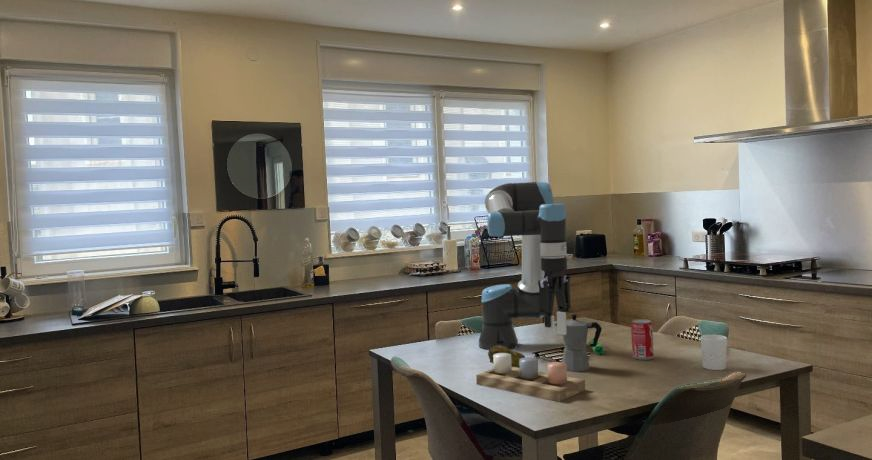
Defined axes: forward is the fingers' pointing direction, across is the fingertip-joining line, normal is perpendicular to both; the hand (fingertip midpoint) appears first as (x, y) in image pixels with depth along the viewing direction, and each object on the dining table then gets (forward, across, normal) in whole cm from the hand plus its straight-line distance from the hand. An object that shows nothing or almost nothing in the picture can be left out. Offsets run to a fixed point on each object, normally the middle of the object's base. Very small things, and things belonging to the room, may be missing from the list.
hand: (556, 335), depth 194 cm
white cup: (+17, +52, -26) cm, 61 cm away
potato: (+17, +13, +28) cm, 35 cm away
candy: (+17, +52, +16) cm, 57 cm away
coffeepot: (+17, +27, +9) cm, 33 cm away
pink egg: (+13, 0, 0) cm, 13 cm away
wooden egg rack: (+17, 0, +10) cm, 20 cm away
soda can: (+17, +51, -2) cm, 54 cm away
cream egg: (+13, 0, +20) cm, 24 cm away
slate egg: (+13, 0, +10) cm, 17 cm away
